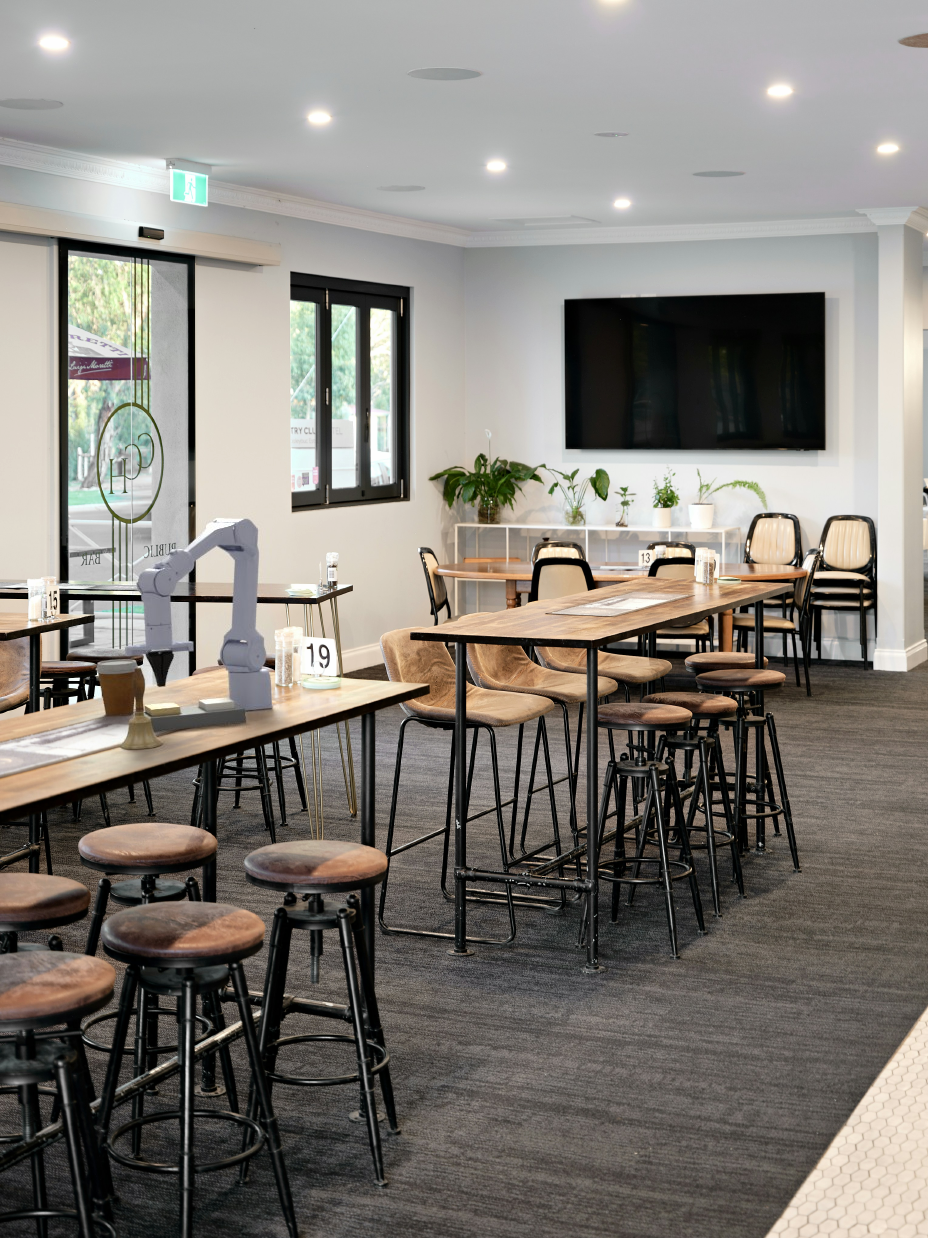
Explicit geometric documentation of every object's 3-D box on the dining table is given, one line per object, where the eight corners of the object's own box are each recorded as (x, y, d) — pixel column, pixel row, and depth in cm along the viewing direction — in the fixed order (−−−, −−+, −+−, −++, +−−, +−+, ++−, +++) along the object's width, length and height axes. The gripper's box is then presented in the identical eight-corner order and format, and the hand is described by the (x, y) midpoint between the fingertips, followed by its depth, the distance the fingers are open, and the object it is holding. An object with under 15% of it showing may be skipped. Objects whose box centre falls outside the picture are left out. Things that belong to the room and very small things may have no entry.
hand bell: (123, 742, 304) (119, 666, 302) (164, 741, 305) (160, 664, 303) (117, 750, 296) (113, 672, 294) (159, 748, 297) (155, 670, 295)
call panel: (232, 714, 333) (231, 701, 333) (246, 722, 323) (245, 708, 323) (135, 724, 324) (134, 711, 324) (146, 732, 314) (145, 718, 314)
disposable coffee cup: (130, 717, 334) (127, 665, 332) (91, 717, 335) (88, 665, 334) (147, 710, 343) (144, 659, 341) (109, 709, 345) (106, 659, 343)
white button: (226, 710, 330) (226, 697, 330) (234, 714, 324) (234, 701, 324) (199, 713, 328) (198, 700, 327) (206, 717, 322) (205, 704, 322)
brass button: (173, 716, 325) (173, 702, 325) (180, 720, 320) (180, 706, 319) (145, 718, 323) (144, 705, 322) (152, 723, 317) (151, 709, 317)
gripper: (128, 628, 312) (131, 691, 314) (195, 623, 318) (198, 685, 320) (121, 625, 318) (124, 687, 320) (187, 620, 324) (190, 681, 326)
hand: (161, 686), depth 320 cm, fingers closed
